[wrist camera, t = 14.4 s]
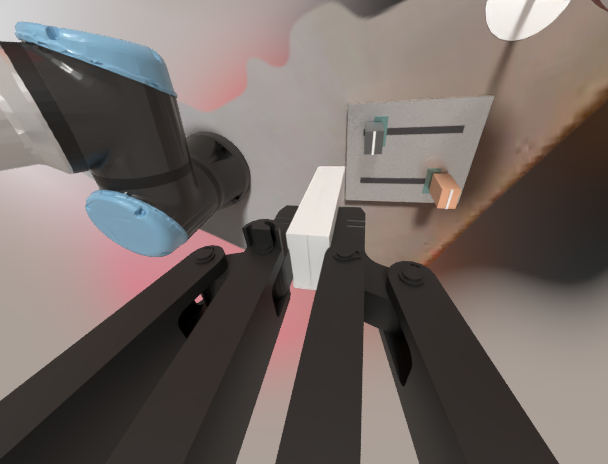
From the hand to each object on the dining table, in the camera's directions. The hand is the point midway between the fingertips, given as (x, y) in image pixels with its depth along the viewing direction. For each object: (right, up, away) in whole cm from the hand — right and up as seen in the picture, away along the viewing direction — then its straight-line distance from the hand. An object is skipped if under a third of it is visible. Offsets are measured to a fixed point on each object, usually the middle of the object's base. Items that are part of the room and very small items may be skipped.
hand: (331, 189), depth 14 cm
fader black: (+9, +13, +22) cm, 27 cm away
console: (+15, +11, +25) cm, 31 cm away
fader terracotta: (+20, +6, +24) cm, 32 cm away
